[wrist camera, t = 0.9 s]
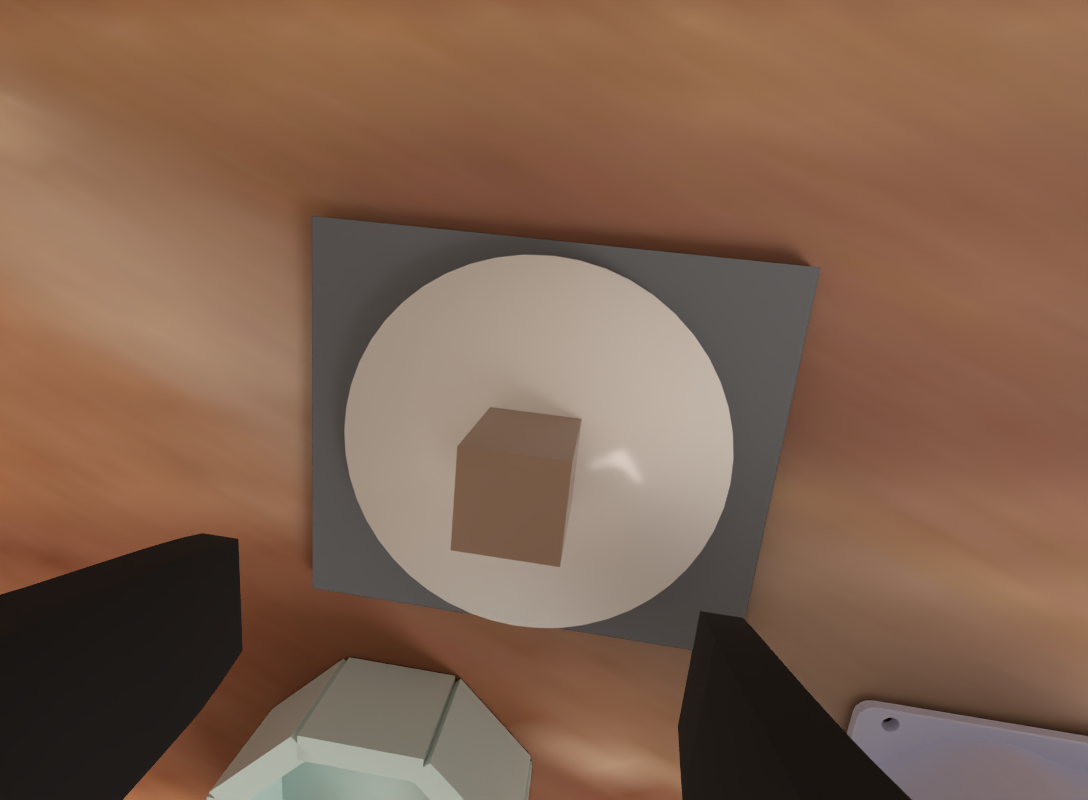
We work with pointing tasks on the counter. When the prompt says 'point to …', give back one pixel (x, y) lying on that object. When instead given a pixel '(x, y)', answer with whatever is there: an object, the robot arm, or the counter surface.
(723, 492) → the lid
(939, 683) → the counter surface
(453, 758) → the bowl
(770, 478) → the mat
